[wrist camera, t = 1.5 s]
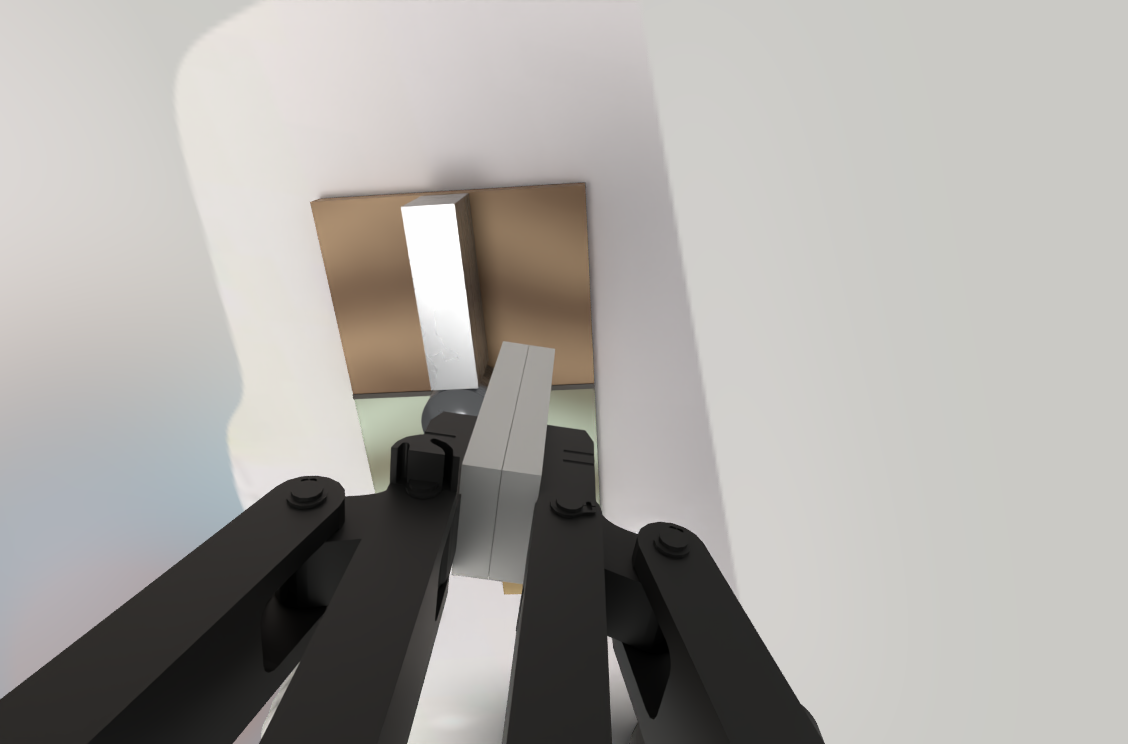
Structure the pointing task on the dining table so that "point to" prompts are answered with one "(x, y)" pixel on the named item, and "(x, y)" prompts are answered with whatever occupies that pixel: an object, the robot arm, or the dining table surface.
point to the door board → (508, 291)
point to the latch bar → (448, 302)
